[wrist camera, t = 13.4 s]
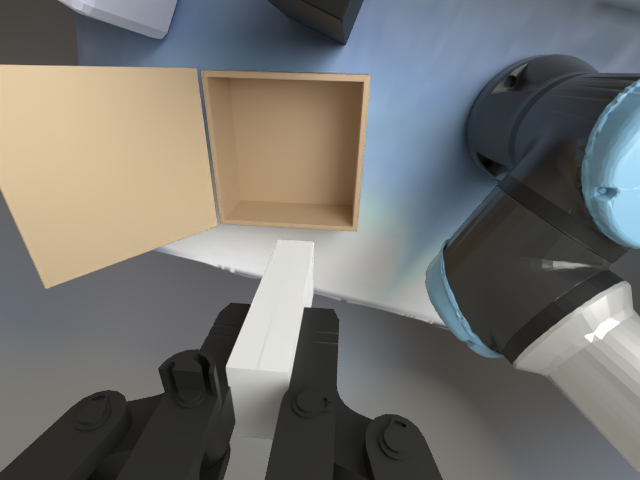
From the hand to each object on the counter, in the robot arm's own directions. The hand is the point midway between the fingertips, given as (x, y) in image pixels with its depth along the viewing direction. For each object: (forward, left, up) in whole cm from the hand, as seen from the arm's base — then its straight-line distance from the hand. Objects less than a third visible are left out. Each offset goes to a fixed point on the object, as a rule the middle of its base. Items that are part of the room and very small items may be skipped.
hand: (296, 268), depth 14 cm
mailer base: (+5, +2, -34) cm, 35 cm away
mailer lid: (+20, +2, -19) cm, 27 cm away
